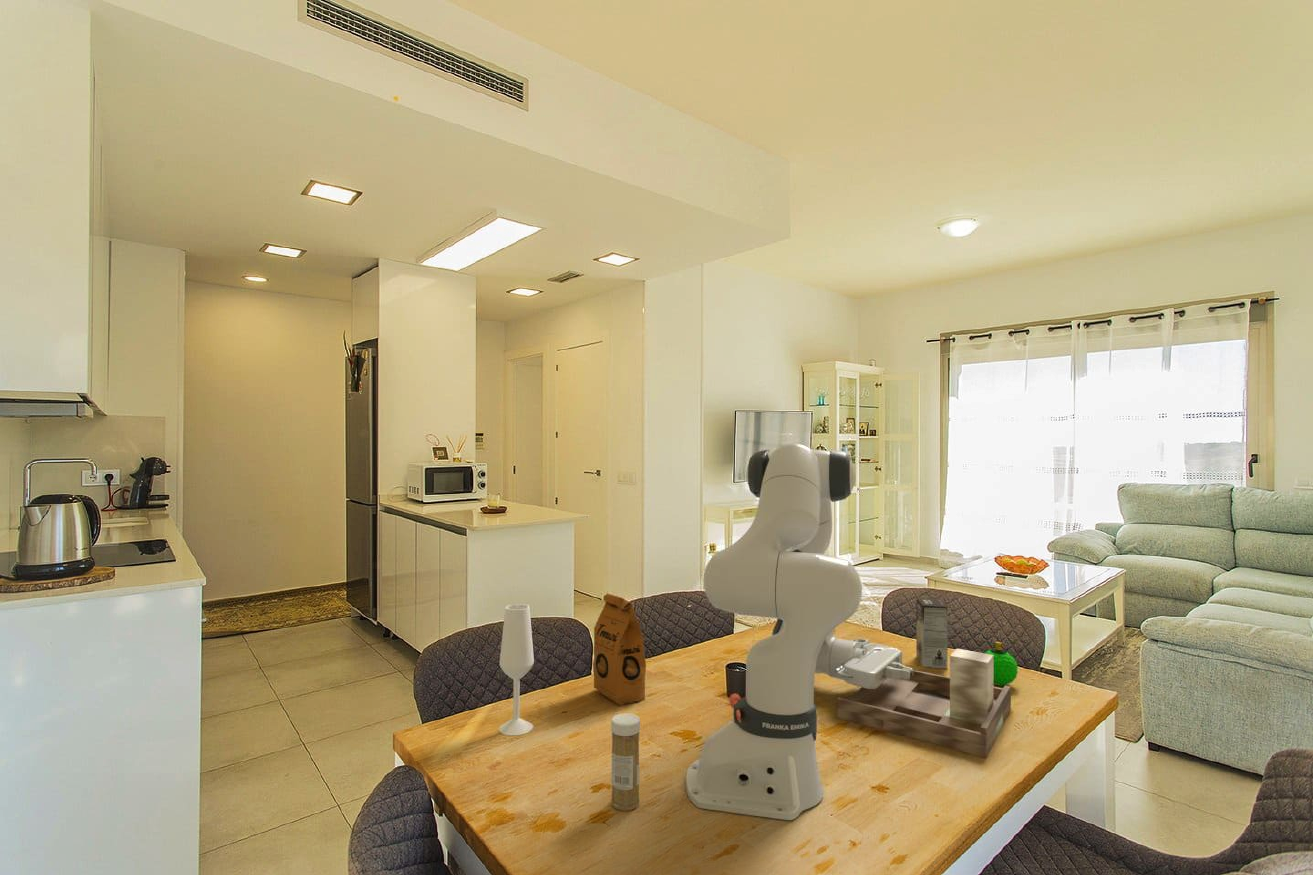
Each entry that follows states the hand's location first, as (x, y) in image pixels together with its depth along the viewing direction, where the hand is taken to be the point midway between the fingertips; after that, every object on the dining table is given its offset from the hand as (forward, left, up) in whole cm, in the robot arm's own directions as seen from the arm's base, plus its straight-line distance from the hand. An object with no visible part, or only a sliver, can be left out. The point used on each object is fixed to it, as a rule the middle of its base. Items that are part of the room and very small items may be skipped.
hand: (911, 674), depth 139 cm
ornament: (+26, +16, -8) cm, 32 cm away
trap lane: (+2, -2, -8) cm, 8 cm away
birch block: (+10, -7, -6) cm, 13 cm away
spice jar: (-59, -40, -8) cm, 71 cm away
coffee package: (-64, +4, -8) cm, 64 cm away
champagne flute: (-83, -14, -8) cm, 84 cm away
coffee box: (+16, +31, -8) cm, 36 cm away
